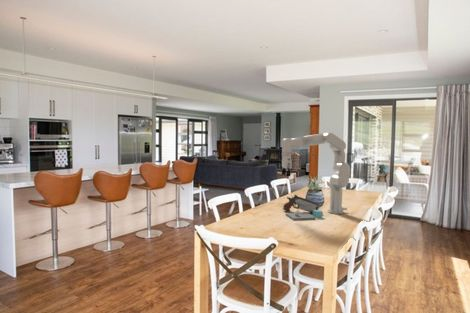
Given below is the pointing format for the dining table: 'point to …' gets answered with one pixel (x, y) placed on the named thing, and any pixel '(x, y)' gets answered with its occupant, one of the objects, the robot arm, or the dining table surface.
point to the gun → (301, 204)
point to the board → (300, 216)
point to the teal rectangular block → (317, 213)
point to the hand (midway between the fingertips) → (286, 175)
